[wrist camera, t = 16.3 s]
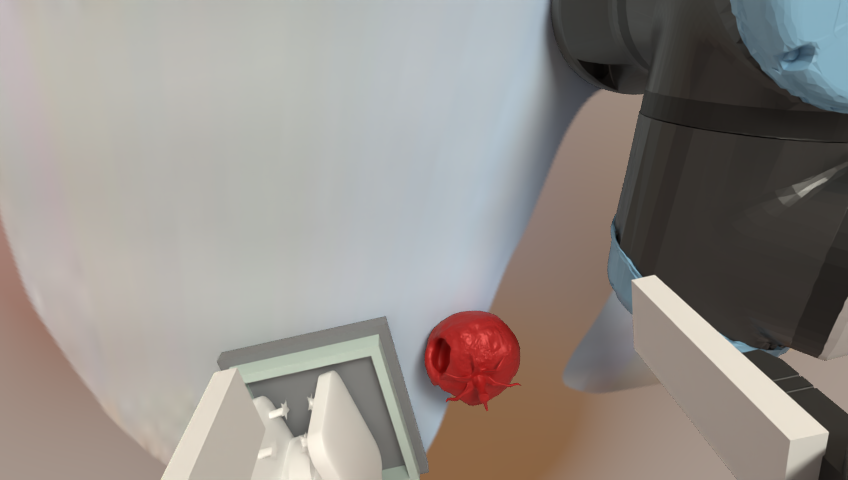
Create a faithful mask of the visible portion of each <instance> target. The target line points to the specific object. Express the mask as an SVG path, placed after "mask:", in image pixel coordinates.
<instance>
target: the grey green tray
mask: <svg viewBox="0 0 848 480" xmlns="http://www.w3.org/2000/svg"><path fill="white" fill-rule="evenodd" d="M217 363H218V365H219V367H220V369H221V371H223V370H228V369H232V368H238V370H239V373H240V375H241V377H242V379H243V381H244V383H245V385H246V388H247V390H248V392H249V394H250V396H251V398H252V399H254V398H257V397H260V396H265V397H267V398H268V399H269V400H270V401H271V402H272V403H273V405H274V406H275V408H276V409H279V408H282V405H281V404H285V401H286V403H287V407H288V408H289V409H290V410H289V411H288V413H287V420H286V417H285V415H284V416H282V415H281V417H282V419H283V420H284V422H285V423H286V425H287V427H288V428H289V430H290V431H291V433H292V434H293V436H294V437H298V436H299V435H300V436H301V435H304V434H305V432H306V434H307V433H308V429H309V424H310V419H311V413H312V410H311V409H310V410H308V408H309V401H308V398H310V397H311V394H312V399H314V398H315V393H316V387H317V382H318V377H319V375H321V374H323V373H326V372H329V371H332V370H333V371H335V372H337V373H338V375H339V376H340V377H341V379H342V381H343V383H344V385H345V386H346V388H347V390H348V392H349V394H350V396H351V397H352V399H353V401H354V403H355V405H356V407H357V408H358V410H359V412H360V414H361V416H362V418H363V419H364V421H365V423H366V425H367V427H368V429H369V430H370V432H371V434H372V436H373V438H374V440H375V441H376V444H377V446H378V448H379V452H380V455H381V460H382V480H420V474H423V473H428V472H429V470H428V461H427V458H426V454H425V451H424V447H423V444H422V440H421V437H420V433H419V430H418V426H417V423H416V419H415V416H414V413H413V409H412V406H411V402H410V399H409V395H408V392H407V388H406V385H405V381H404V378H403V375H402V371H401V368H400V364H399V361H398V357H397V354H396V350H395V347H394V343H393V340H392V336H391V333H390V330H389V326H388V323H387V319H386V316H385V317H380V318H376V319H371V320H367V321H362V322H358V323H353V324H349V325H344V326H340V327H335V328H331V329H326V330H322V331H317V332H313V333H308V334H304V335H299V336H295V337H290V338H286V339H281V340H277V341H272V342H268V343H263V344H259V345H254V346H250V347H245V348H241V349H236V350H232V351H227V352H223V353H221V355H220V356H219V358H218V360H217ZM307 397H308V398H307Z"/></svg>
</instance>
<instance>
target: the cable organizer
mask: <svg viewBox="0 0 848 480" xmlns="http://www.w3.org/2000/svg"><path fill="white" fill-rule="evenodd" d="M307 398H308V397H307ZM252 400H253V403H254V405H255V407H256V409H257V411H258V413H259V416H260V418H261V420H262V422H263V424H264V426H265V428H266V430H265V433H264V437H263V440H262V443H261V447H260V450H259V453H258V457H257V460H256V463H255V467H254V470H253V473H252V477H251V480H382V460H381V455H380V452H379V448H378V446H377V444H376V441H375V440H374V438H373V436H372V434H371V432H370V430H369V429H368V427H367V425H366V423H365V421H364V419H363V418H362V416H361V414H360V412H359V410H358V408H357V407H356V405H355V403H354V401H353V399H352V397H351V396H350V394H349V392H348V390H347V388H346V386H345V385H344V383H343V381H342V379H341V377H340V376H339V375H338V373H337V372H335V371H333V370H332V371H329V372H326V373H323V374H321V375H319V377H318V382H317V387H316V393H315V398H314V399H312V394H311V397H310V398H308V401H309V408H308V410H310V409H311V410H312V413H311V419H310V424H309V429H308V433H307V434H306V432H305V434H304V435H301V436H300V435H299V436H298V437H294V436H293V434H292V433H291V431H290V430H289V428H288V427H287V425H286V423H285V422H284V420H283V419H282V417H281V415H282V416H284V415H285V417H286V420H287V413H288V411H289V410H290V409H289V408H288V407H287V403H286V401H285V404H281V405H282V408H279V409H276V408H275V406H274V405H273V403H272V402H271V401H270V400H269V399H268V398H267V397H265V396H260V397H257V398H254V399H252Z"/></svg>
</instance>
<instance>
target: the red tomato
mask: <svg viewBox="0 0 848 480" xmlns="http://www.w3.org/2000/svg"><path fill="white" fill-rule="evenodd" d="M519 364H520V347H519V343H518V341H517V339H516V337H515V335H514V334H513V332H512V331H511V330H510V328H509V327H508V326H507V325H506V324H505V323H504V322H503V321H502V320H501V319H500V318H498V317H497V316H496V315H494V314H491V313H487V312H482V311H466V312H459V313H456V314H453V315H451V316H449V317H448V318H446V319H445V320H443V321H441V322H440V323H439V324H438V325H437V326H436V327H435V328H434V329H433V330H432V332H431V334H430V336H429V338H428V343H427V348H426V352H425V367H426V370H427V374H428V376H429V378H430V380H431V382H432V384H433V385H434V386H436V385H439V386H440V388H441V389H442V390H444V391H446V392H448V393H451V394H452V395H454V396H456V397H455V398H447V400H446V402H447V401H448V400H451V401H458V400H459V399H460V400H462V401H463V402H465V403H467V404H468V405H472V406H474V405H479V404H482V403H483V404H484V406H485V409H486V410H487V411H488V407H487V401H489V400H490V399H492V398H493V397H495V396H497V395H499V394H500V393H501V392H502V391H503V390H505V389H506V388H507V387H511V386H514V385H520V384H519V383H514V384H510V382H511V380H512V378H513V377H514V376H515V374H516V373H517V371H518V368H519Z"/></svg>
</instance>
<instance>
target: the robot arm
mask: <svg viewBox="0 0 848 480" xmlns="http://www.w3.org/2000/svg"><path fill="white" fill-rule="evenodd" d="M551 15H552V25H553V30H554V35H555V38H556V41H557V44H558V47H559V49H560V51H561V53H562V55H563V57H564V58H565V60H566V62H567V63H568V64H569V66H570V67H571V68H572V69H573V70H574V71H575V72H576V73H577V74H578V75H579V76H580V77H581V78H583V79H584V80H585V81H587V82H589V83H590V84H592V85H594V86H596V87H599V88H602V89H605V90H608V91H613V92H616V93H622V94H644V96H643V101H642V105H641V110H640V111H639V115H638V120H637V125H636V129H635V134H634V139H633V143H632V148H631V152H630V157H629V162H628V166H627V171H626V175H625V179H624V183H623V188H622V192H621V196H620V200H619V204H618V209H617V213H616V214H615V216H614V219H613V221H612V225H611V238H612V242H611V248H610V253H609V259H608V278H609V281H610V284H611V286H612V288H613V289H614V291H615V292H616V294H617V297H618V299H619V301H620V302H621V303H622V304H623V306H624V307H625V308H626V309H627V310H628V311H629V312H630V313H631V314H632V315H633V337H634V349H635V350H636V352H637V353H638V354H639V355H640V357H641V358H642V359H643V361H644V362H645V363H646V364H647V366H648V367H649V368H650V369H651V371H652V372H653V373H654V375H655V376H656V377H657V378H658V380H659V381H660V382H661V383H662V385H663V386H664V387H665V389H666V390H667V391H668V392H669V394H670V395H671V396H672V397H673V399H674V400H675V401H676V402H677V404H678V405H679V406H680V408H681V409H682V410H683V411H684V413H685V414H686V415H687V417H688V418H689V419H690V420H691V422H692V423H693V424H694V425H695V427H696V428H697V429H698V431H699V432H700V433H701V434H702V436H703V437H704V438H705V439H706V441H707V442H708V443H709V445H710V446H711V447H712V448H713V450H714V451H715V452H716V453H717V454H718V456H719V457H720V459H721V460H722V461H723V462H724V463H725V465H726V466H727V467H728V469H729V470H730V471H731V472H732V474H733V475H734V476H735V478H736V479H737V480H848V414H847V413H846V412H845V411H844V410H842V409H841V408H840V407H839V406H838V405H836V404H835V403H834V402H833V401H831V400H830V399H829V398H828V397H826V396H825V395H824V394H823V393H822V392H821V391H819V390H818V389H817V388H814V387H813V385H812V384H811V383H810V382H808V381H807V380H806V379H804V378H803V377H802V376H801V377H800V376H799V373H798V372H796V371H795V370H794V369H793V368H791V367H790V366H789V365H788V364H787V363H785V362H784V361H783V360H782V359H780V358H778V357H779V356H780V355H782V354H784V353H786V352H787V351H788V350H789V348H792V349H794V350H797V351H800V352H802V353H805V354H808V355H810V356H813V357H816V358H818V359H821V360H824V361H827V360H831V359H835V358H838V357H843V356H847V355H848V0H552V3H551ZM265 430H266V428H265V426H264V424H263V422H262V420H261V418H260V416H259V413H258V411H257V409H256V407H255V405H254V403H253V400H252V398H251V396H250V394H249V392H248V390H247V388H246V385H245V383H244V381H243V379H242V377H241V375H240V373H239V370H238V368H232V369H228V370H223V371H219V372H214V374H213V376H212V378H211V380H210V382H209V384H208V386H207V388H206V390H205V392H204V394H203V396H202V398H201V400H200V402H199V404H198V406H197V408H196V410H195V412H194V414H193V416H192V418H191V420H190V422H189V424H188V426H187V428H186V430H185V432H184V434H183V436H182V438H181V440H180V442H179V444H178V446H177V448H176V450H175V452H174V454H173V456H172V458H171V460H170V462H169V464H168V466H167V468H166V470H165V472H164V474H163V476H162V479H161V480H251V477H252V473H253V470H254V467H255V463H256V460H257V457H258V453H259V450H260V447H261V443H262V440H263V437H264V433H265Z"/></svg>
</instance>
